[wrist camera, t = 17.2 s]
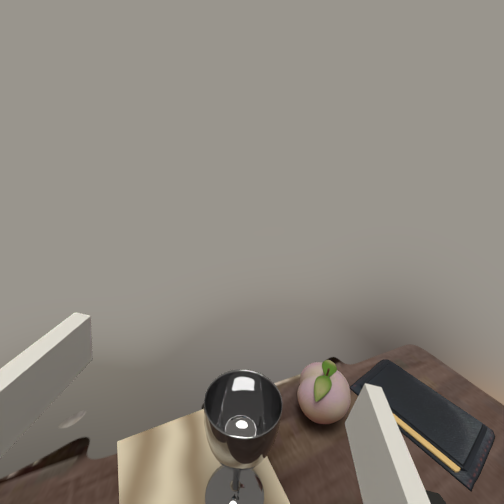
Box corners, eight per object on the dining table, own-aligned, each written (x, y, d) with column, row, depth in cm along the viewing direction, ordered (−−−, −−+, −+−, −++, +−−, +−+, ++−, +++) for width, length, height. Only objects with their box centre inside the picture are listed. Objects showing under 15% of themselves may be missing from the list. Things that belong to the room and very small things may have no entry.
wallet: (501, 430, 44) (474, 490, 35) (496, 437, 44) (468, 497, 36) (388, 352, 58) (348, 381, 49) (385, 358, 59) (346, 388, 50)
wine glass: (193, 473, 32) (195, 380, 28) (250, 448, 36) (260, 361, 31) (213, 556, 26) (219, 452, 21) (280, 515, 29) (298, 418, 25)
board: (236, 402, 44) (237, 396, 43) (300, 537, 29) (303, 530, 29) (118, 448, 35) (117, 441, 35) (126, 669, 21) (125, 663, 20)
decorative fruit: (341, 451, 38) (360, 405, 35) (288, 429, 41) (300, 383, 37) (342, 399, 47) (357, 357, 43) (298, 383, 49) (308, 342, 45)
